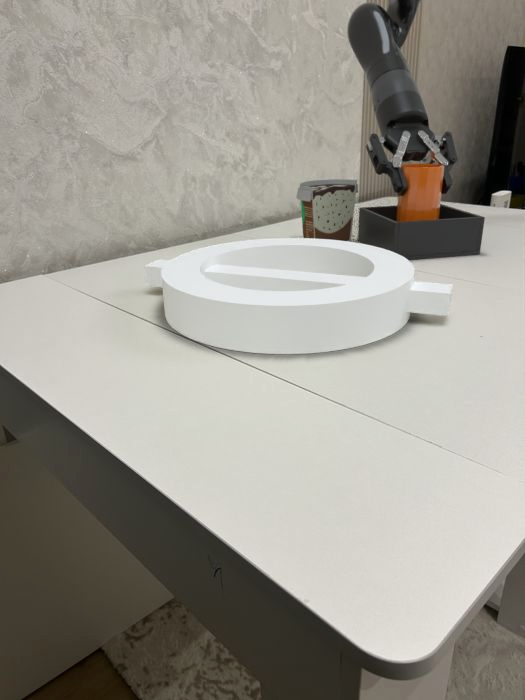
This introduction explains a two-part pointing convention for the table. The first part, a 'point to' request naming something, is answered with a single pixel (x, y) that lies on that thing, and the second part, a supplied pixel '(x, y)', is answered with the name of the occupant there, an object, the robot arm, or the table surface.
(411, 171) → the drinking cup
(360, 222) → the basket
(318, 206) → the food container
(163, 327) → the table surface
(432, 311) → the ring with crossbar
